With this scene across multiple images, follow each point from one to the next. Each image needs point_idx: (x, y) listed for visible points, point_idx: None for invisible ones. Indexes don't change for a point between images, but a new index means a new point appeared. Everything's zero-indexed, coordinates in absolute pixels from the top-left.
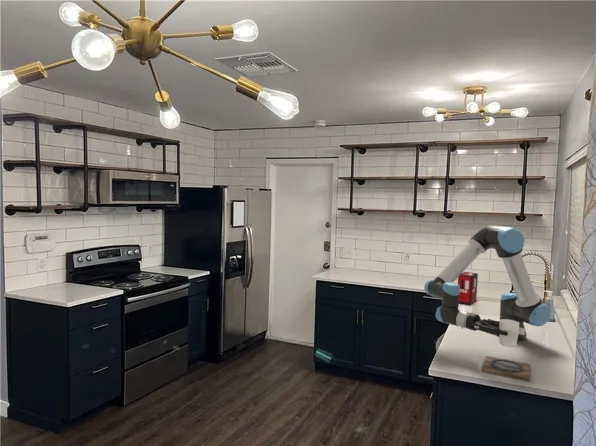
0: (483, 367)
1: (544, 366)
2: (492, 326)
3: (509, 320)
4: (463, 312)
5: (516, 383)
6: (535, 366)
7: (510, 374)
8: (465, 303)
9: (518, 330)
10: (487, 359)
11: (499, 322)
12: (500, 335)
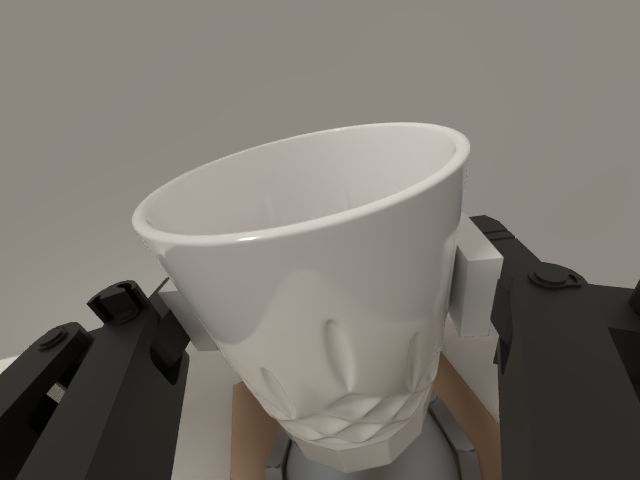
0: None
1: (202, 356)
2: (591, 466)
3: (157, 211)
4: None
5: (495, 346)
6: (221, 378)
7: (465, 386)
8: None
9: (310, 206)
10: None
11: (423, 225)
12: (435, 364)
